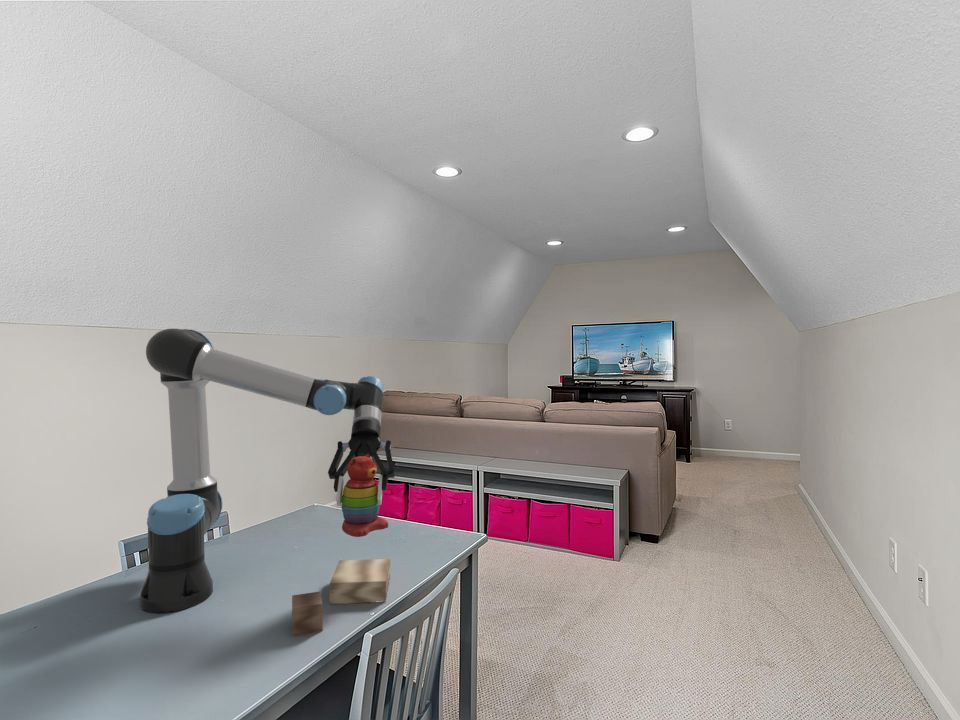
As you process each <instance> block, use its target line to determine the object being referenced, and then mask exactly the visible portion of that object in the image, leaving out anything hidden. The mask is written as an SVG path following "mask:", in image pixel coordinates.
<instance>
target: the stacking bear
mask: <svg viewBox="0 0 960 720" xmlns="http://www.w3.org/2000/svg"><path fill="white" fill-rule="evenodd" d="M377 472H378V468H377V466H376V464H375V462H374V461H373V459H372V457H370V456H369V455H365V456H359V457H355V458H353V459H351V461H350V462H349V464H348V468H347V475H348V478H349V479H348V480H347V482H346V483H345V485H343V492H342V500H341V507H340V508H341V511H342V516H343V519H344V520H343V522H342V525H341V530H342V532H343V533H344V534H346V535H349V536H350V537H354V538H361V537H365V536H367V535H368V534H369V533H371V532H374V531H381V530H385V529H387V528H389V521H388V520H386V519H385V518H384V517H381V516H379V512H380V511H379V510H380V507H381V504H380V505H378V500H377V498H378V484H377V480H376V479H375V477H376V475H377Z"/></svg>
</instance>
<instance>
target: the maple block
mask: <svg viewBox="0 0 960 720" xmlns="http://www.w3.org/2000/svg"><path fill="white" fill-rule="evenodd" d="M389 581H390V582H391V558H377V559H376V558H373V559H371V558H369V559H344V560H340V559H339V560H338V563H337V566H336V568H335V570H334V572H333V575H332V576H331V580H330V581H329V605H341V604H343V605H344V604H345V605H346V604H363V603H362V602H371V603H377V602H376V601H386V602H387V599H386V598H387V597H388V593H387V592H389V588H388V587H389V586H390V582H389Z"/></svg>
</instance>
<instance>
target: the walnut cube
mask: <svg viewBox="0 0 960 720" xmlns="http://www.w3.org/2000/svg"><path fill="white" fill-rule="evenodd" d="M291 618H292V619H291V620H292V623H291V625H292V626H291V627H292V629H291V631H292V637H297V636H304V635H308V634H313V633H314V634H315V633H321V632H323V599H322V591H313V592H307V593H299V594H294V595H291Z"/></svg>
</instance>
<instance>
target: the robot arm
mask: <svg viewBox="0 0 960 720" xmlns="http://www.w3.org/2000/svg"><path fill="white" fill-rule="evenodd" d="M145 356H146V359H147V362H148V364H149V365H150V366H151V368H152V369H154V370H155V371H156V372H158V373H159V374H160V383H161V384H162V385H163V386H164V387H166V388H167V393H168V408H169V409H168V410H169V413H168V414H169V427H170V428H169V429H170V444H171V445H170V446H171V447H170V448H171V460H172V461H171V462H172V463H171V465H172V481H171V482H170V483H169V484H168V485H167V487H166V489H167V491H166V492H167V493H166V494H167V496H166V497H165V498H161V499H159V500H157V501H155V502H153V504H152V505H150V507H149V508H148V513H147V518H146V520H147V521H146V525H147V544H148V545H147V547H148V548H147V550H148V551H147V553H148V554H147V556H148V558H147V559H148V572H147V573H146V574H147V575H146V578H145V580H144V583H143V585H142V586H143V587H142V590H141V593H140V595H139V597H140V598H139V600H140V602H139V603H140V604H139V605H140V606H139V607H140V608H141V609H142V608H143V609H144V610H143V609H142V610H143V611H145V610H146V612H148V611H150V612H149V613H155V612H163V613H172V612H177V611H182V610H185V609H188V608H191V607H195V606H197V605H198V604H200V603H203V602H204V601H206V600H207V599H208V598H210V596H211V595H212V594H213V593H214V581H213V578H212V576H211V573H210V571H209V569H208V565H207V563H206V561H205V535H206V533H208V531H209V530H210V529H211V527H213V526H214V525H215V523H216V522H217V521H218V520H219V518H220V515H221V513H222V509H223V506H224V505H223V498H222V494H221V493H220V491H219V489H218V479H217V478H215V477H214V476H212V474H211V463H210V448H209V447H210V445H209V444H210V443H209V431H208V430H209V428H208V427H209V426H208V414H207V413H208V412H207V396H206V395H207V394H206V386H207V384H208V383H210V382H213V383H217V384H220V385H225V386H227V387H232V388H235V389H238V390H242V391H247V392H249V393H253V394H255V395H256V394H257V395H259V396H260V395H261V396H265V397H268V398H271V399H275V400H279V401H282V402H287V403H289V404H294V405H297V406H300V407H305V408H308V409H311V410H314V411H317V412H319V413H321V414H322V415H325V416H333V415H337V414H338V413H340V412H342V410H350V411H351V410H352V411H353V416H352V426H351V427H352V428H351V434H350V439H349V440H348V442H343V441H338V442H337V449H336V452H335V454H334V456H333V459H332V460H331V461H332V462H331V464H330V466H329V469H328V471H327V475H328V478H329V479H330V480H334V482H333V483H334V484H333V490H334V492H335V493H336V498H335V499H336V500H335V501H336V504H337V506H341V504H342V503H341V500H342V495H343V490H344V482H345V481H344V477H345V475H346V474H347V473H348V471H347V468H348V464H349V462H350V461H351V459H353V458H355V457H359V456H365V455H369V456H370V458H371V459H372V460H373V461H374V463H375V464H376V466H377V471H378V472H379V475H378V484H377V486H378V498H377V500H378V505H380V506H381V505H382V500H383V491H387V490H388V480H389V479H390V478H391V479H394V478H395V476H396V474H395V467H394V463H393V458H392V452H391V450H392V441H391V440H389V439H388V440H386V441H381V439H380V438H381V426H382V416H383V414H382V412H383V403H384V384H383V381H381V380H380V379H379V378H378V377H377V376H371V375H368V376H363V377H360V379H359V380H358V381H357V382H346V381H339V380H338V381H337V380H330V379H326V378H325V379H322V378H321V379H316V378H313V377H309V376H308V375H307V376H306V375H304V374H299V373H296V372H293V371H289V370H286V369H283V368H279V367H275V366H272V365H269V364H266V363H262V362H259V361H255V360H251V359H249V358H245V357H241V356H238V355H234V354H232V353H228V352H225V351H222V350H218V349H215V348H214V345H213V343H212V341H211V340H210V339H209V338H208V337H207V336H206V335H204V334H203V333H201V332H199V331H197V330H194V329H188V328H184V329H183V328H181V329H180V328H166V329H163V330H159V331H157V332H156V333H155V334H154V335H153V336H151V337H150V338H149V340H148V342H147V343H146V348H145ZM348 448H349V450H350V451H349V454H348V455H347V456H346V457H345V459H344V461H343V462H342V463H341V461H342V458H343V456H344V453H345V452H346V451H347V449H348ZM381 448H382V450H383V451H384V452H385V458H386V463H387V467H388V470H387V469H386V468H385V466H384V464H383V462H382V460H381V459H380V456H379V454H378V451H379V449H381ZM340 464H341V465H340ZM171 611H172V612H171Z"/></svg>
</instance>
